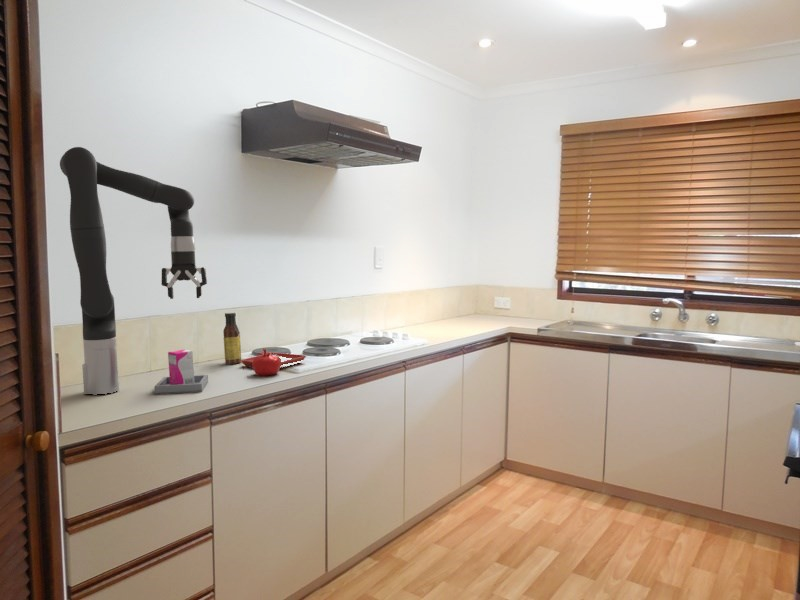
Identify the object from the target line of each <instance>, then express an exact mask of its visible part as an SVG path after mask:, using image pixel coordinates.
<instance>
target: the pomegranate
mask: <svg viewBox="0 0 800 600" xmlns="http://www.w3.org/2000/svg"><path fill="white" fill-rule="evenodd" d="M262 351H263V352H260V353H256V354H255V356H254V357H255V358H254V360H253V362H252V367H251V368H252V370H253V371H254V373H255V375H256V376H259V377H265V376H273V375H274V376H275V375H276V374H277V373H279V371H280V370H281V369H280V366H281V359H280V358H279V357H278V356H276V355H272V354H273V353H275V354H276V353H277V352H271V351H268V352H267V349H266V348H263V349H262ZM256 356H257V357H256Z"/></svg>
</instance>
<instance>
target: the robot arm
mask: <svg viewBox="0 0 800 600" xmlns="http://www.w3.org/2000/svg"><path fill="white" fill-rule="evenodd" d="M59 167H60V170H61V173H63V175H64V176H66V179H67V182H68V186H69V191H70V192H69V193H70V205H69V206H70V207H69V229H70V236H71V237H70V238H71V242H72V247H73V252H74V257H75V261H76V265H77V268H78V271H79V272H78V273H79V280H80V281H79V283H80V284H79V285H80V308H81V315H82V316H81V317H82V318H81V319H82V320H81V321H82V342H83V357H84V363H83V364H82V381H83V382H82V383H83V395H84V394H93V395H92V396H98V395H97V394H105V395H108V394H107V393H111V394H114V393H113V392H115V393H117V392H119V391H118V390H120V383H119V369H118V368H119V367H118V349H117V346H118V345H117V334H116V333H117V329H116V327H117V326H116V324H117V323H116V313H115V312H116V311H115V310H116V309H115V298H114V296H113V294H112V291H111V288H110V285H109V280H108V273H107V240H106V239H107V238H106V232H105V231H106V230H105V225H104V219H103V214H102V208H101V203H100V199H99V192H98V185H99V186H103V187H106V188H110V189H113V190H117V191H119V192H122V193H125V194H127V195H130V196H133V197H136V198H139V199H142V200H144V201H148V202H151V203H155V204H162V205H165V206H167V213H168V216H169V220H170V222H169V223H170V236H171V238H170V254H171V255H170V257H171V258H170V259H171V260H170V261H171V267H170V268H166V267H163V268H161V287H162V286H163V287H166V288H167V296H168V298H169V299H171V300H173V299H174V287H173V286H174V285H175V284H176V282H177V281H192V282H193V283H194V284H195V286H196V287H195V289H196V299H200V297H202V294H203V293H202V287H203V286H205V285H207V284H208V280H207V273H206V272H207V271H206V266H205V267H204V266H202V267H197V265H196V252H195V251H196V247H195V239H194V226H193V225H194V224H193V222H192V220H191V219H190V211H189V210H190V209H192V208H193V206H194V205H195V198H194V196H193V194H192V193H191V192H190V191H188V190H186V189H184V188H181V187H177V186H174V185H170V184H166V183H162V182H160V181H157V180H155V179H152V178H150V177H148V176H147V177H146V176H144V175H141V174H137V173H134V172H129V171H124V170H120V169H117V168H114V167H109V166H108V165H105V164H102V163H101V162H99V161H97V159H96V157H95V156H94V155H93V153H92V152H91V151H90V150H88V149H87V148H84V147H81V146H74V147H72V148H71V147H70V148H69V149H67V151H65V152H64V153H63V155H62V156H61V158H60V160H59ZM170 272H171V274H172V275H173V276H172V277H171V279H170V281H169V282H168V275H169V274H170ZM197 272H198V274H200V277H201V282H200V281H199V279H198V278H197V277H196V276H195V275H196V273H197ZM116 391H117V392H116Z"/></svg>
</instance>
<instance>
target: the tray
mask: <svg viewBox="0 0 800 600" xmlns="http://www.w3.org/2000/svg"><path fill="white" fill-rule="evenodd" d="M194 381H195V384H179V385H170V376H163V377H162V378H161V379H160V380H159V381H158V382H157V383H156V384H155V385H154V387H153V388H154V395H166V394H165V393H171V394H185V393H202V392H203V391H204V389H206V386H207V385H208V383H209V375H208V374H196V375H195V374H194Z"/></svg>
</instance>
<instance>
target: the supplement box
mask: <svg viewBox="0 0 800 600" xmlns="http://www.w3.org/2000/svg"><path fill="white" fill-rule="evenodd" d="M167 355H168V356H167V357H168V372H169V375H168V376H169V377H170V385H179V384H195V381H194V375H195V370H194V369H195V368H194V352H193V350H188V349H180V350H178V349H177V350H173V351H168V352H167Z"/></svg>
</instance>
